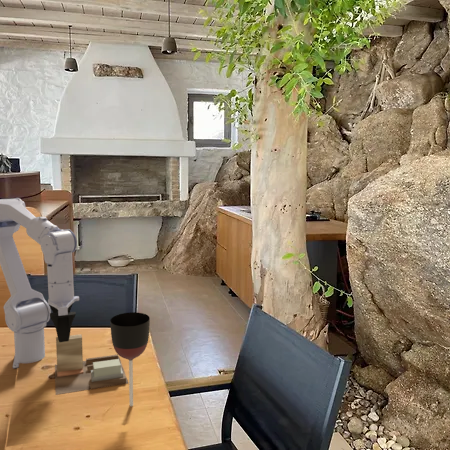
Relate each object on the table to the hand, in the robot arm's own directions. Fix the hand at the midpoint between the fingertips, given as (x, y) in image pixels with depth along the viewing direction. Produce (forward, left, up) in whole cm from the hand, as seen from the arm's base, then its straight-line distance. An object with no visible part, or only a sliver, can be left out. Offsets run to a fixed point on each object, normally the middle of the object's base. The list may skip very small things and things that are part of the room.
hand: (63, 335), depth 109 cm
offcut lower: (+7, +9, -9) cm, 15 cm away
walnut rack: (+3, +6, -10) cm, 12 cm away
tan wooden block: (-1, +1, -9) cm, 9 cm away
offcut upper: (+7, +9, -7) cm, 14 cm away
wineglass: (+21, +13, -11) cm, 27 cm away
